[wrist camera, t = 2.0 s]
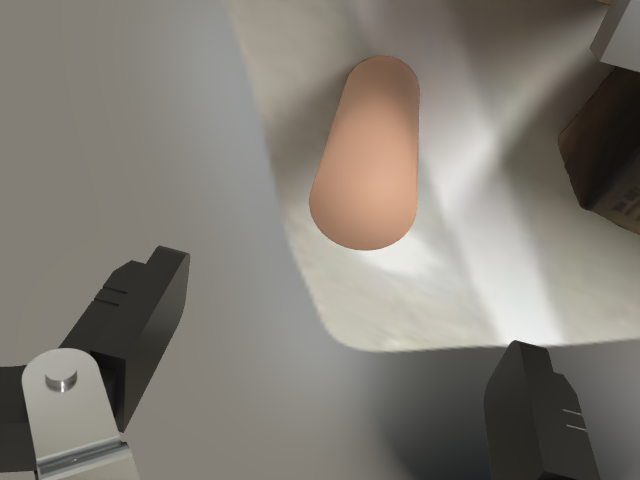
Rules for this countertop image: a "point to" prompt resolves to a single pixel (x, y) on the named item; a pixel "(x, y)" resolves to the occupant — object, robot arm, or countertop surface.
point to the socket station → (619, 35)
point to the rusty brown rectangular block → (607, 150)
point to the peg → (370, 158)
